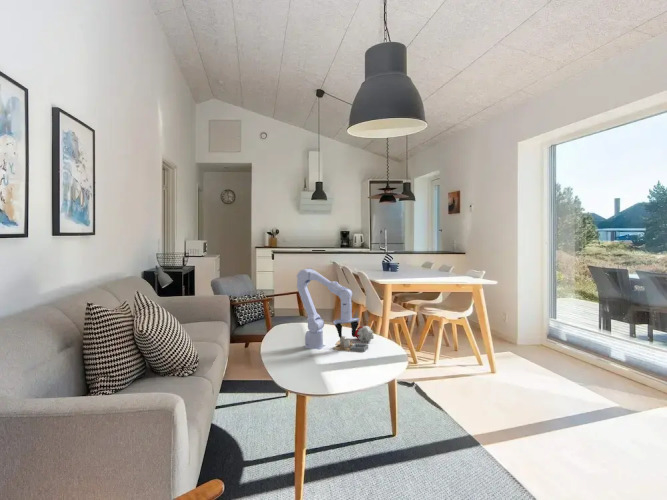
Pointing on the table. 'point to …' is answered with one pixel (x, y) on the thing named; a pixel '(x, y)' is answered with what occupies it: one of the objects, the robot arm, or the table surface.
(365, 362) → the table surface
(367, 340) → the white and red lump
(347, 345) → the pale grey capsule
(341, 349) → the oak box
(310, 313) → the robot arm
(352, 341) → the oak lid
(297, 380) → the table surface
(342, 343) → the grey capsule cylinder
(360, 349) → the slate dish
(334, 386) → the table surface
